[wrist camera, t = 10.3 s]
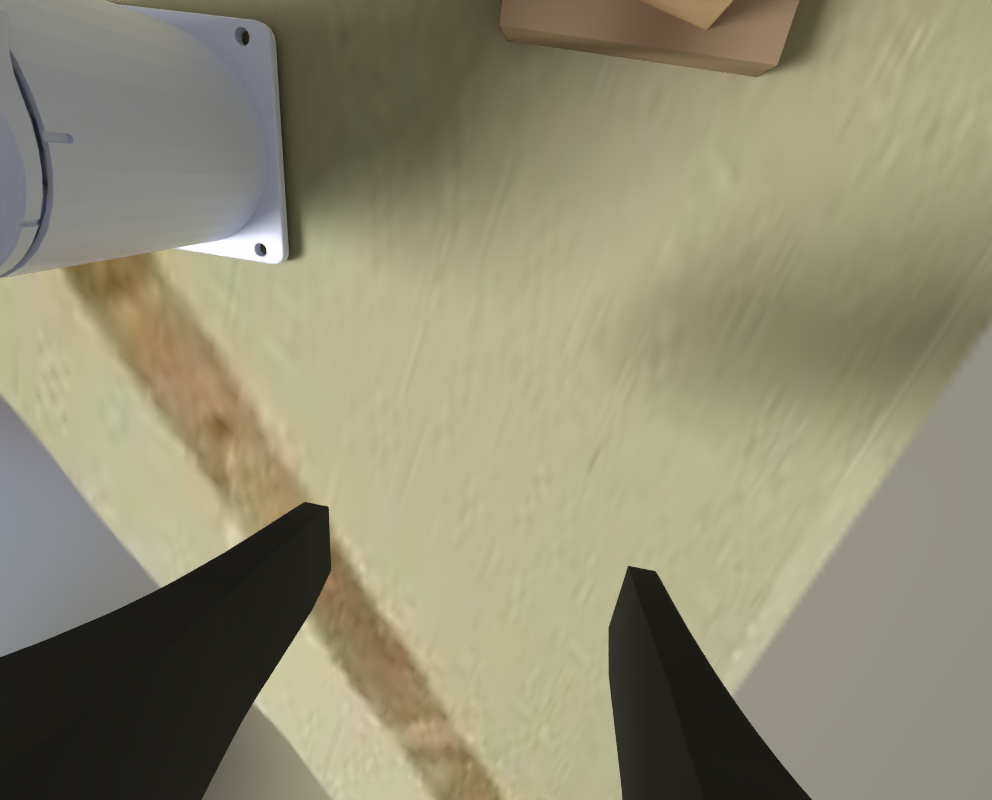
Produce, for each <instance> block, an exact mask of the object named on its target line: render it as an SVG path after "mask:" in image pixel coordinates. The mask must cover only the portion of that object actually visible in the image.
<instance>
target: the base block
mask: <svg viewBox="0 0 992 800" xmlns="http://www.w3.org/2000/svg"><path fill="white" fill-rule="evenodd" d="M798 3H799V0H733V1H732V2H731V3H730V4H729V6H728V7H727V8H726V9H725V10H724V11H723V12H722V13H721V15H720V16H719V17H718V18H717V19H716V20H715V21H714V22H713V24H712V25H711V26H710V27H709V28H708V29H707V30H705V29H702V28H700V27H698V26H696V25H693V24H691V23H689V22H687V21H684V20H682V19H680V18H678V17H675V16H673V15H671V14H669V13H666V12H664V11H662V10H660V9H657V8H655V7H653V6H651V5H648V4H646V3H644V2H642V1H639V0H502V6H501V15H500V23H499V26H500V28H501V30H502V32H503V33H504V35H505V37H506V39H507V40H508V41H515V42H522V43H529V44H535V45H542V46H549V47H556V48H563V49H569V50H576V51H583V52H590V53H597V54H603V55H610V56H617V57H624V58H631V59H637V60H644V61H651V62H658V63H665V64H672V65H678V66H685V67H692V68H699V69H706V70H712V71H719V72H726V73H733V74H740V75H746V76H753V77H757V76H759V75H761V74H763V73H764V72H766V71H768V70H770V69H772V68H774V67H775V66H777V65H778V62H779V59H780V56H781V53H782V50H783V47H784V44H785V42H786V39H787V36H788V33H789V30H790V27H791V24H792V21H793V18H794V15H795V12H796V9H797V6H798Z"/></svg>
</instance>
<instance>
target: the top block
mask: <svg viewBox="0 0 992 800" xmlns="http://www.w3.org/2000/svg"><path fill="white" fill-rule="evenodd" d="M639 1H642V2H644V3H646V4H648V5H651V6H653V7H655V8H657V9H660V10H662V11H664V12H666V13H669V14H671V15H673V16H675V17H678V18H680V19H682V20H684V21H687V22H689V23H691V24H693V25H696V26H698V27H700V28H702V29H705V30H707V29H708V28H709V27H710V26H711V25H712V24H713V22H714V21H715V20H716V19H717V18H718V17H719V16H720V15H721V13H722V12H723V11H724V10H725V9H726V8H727V7H728V6H729V4H730V3H731V2H732V1H733V0H639Z"/></svg>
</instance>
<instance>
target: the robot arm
mask: <svg viewBox="0 0 992 800" xmlns="http://www.w3.org/2000/svg"><path fill="white" fill-rule="evenodd" d="M245 30H247V31H248V33H249V42H248V44H247V45H244V44H243V41H242V34H243V32H244V31H245ZM261 244H263V245H264V246H265V247H266V250H267V253H266V255H265V254H263V253H262V252H261V249H260V245H261ZM173 248H174V249H180V250H186V251H193V252H199V253H205V254H212V255H218V256H224V257H230V258H237V259H243V260H249V261H256V262H262V263H268V264H281V263H283V262H285V261H286V260H287V259H288V256H289V246H288V230H287V214H286V198H285V182H284V165H283V149H282V133H281V117H280V101H279V85H278V69H277V53H276V41H275V36H274V34H273V32H272V30H271V29H270V28H269V27H268V26H267V25H266V24H264V23H262V22H260V21H257V20H251V19H243V18H234V17H225V16H217V15H208V14H199V13H191V12H182V11H173V10H164V9H156V8H147V7H138V6H130V5H121V4H115V3H113V2H110V1H107V0H0V278H5V277H11V276H17V275H23V274H28V273H34V272H40V271H46V270H52V269H57V268H63V267H69V266H75V265H80V264H86V263H92V262H98V261H104V260H109V259H115V258H121V257H127V256H132V255H138V254H144V253H150V252H155V251H161V250H167V249H173ZM330 571H331V555H330V531H329V507H327V506H322V505H317V504H312V503H307V502H304V503H302V504H301V505H299V506H297V507H296V508H294V509H293V510H291V511H290V512H288V513H286V514H285V515H283V516H282V517H280V518H279V519H277V520H276V521H274V522H272V523H271V524H269V525H268V526H266V527H265V528H263V529H261V530H260V531H258V532H257V533H255V534H254V535H252V536H250V537H249V538H247V539H246V540H244V541H242V542H241V543H239V544H238V545H236V546H234V547H233V548H231V549H229V550H228V551H226V552H225V553H223V554H221V555H220V556H218V557H216V558H214V559H212V560H211V561H209V562H207V563H205V564H204V565H202V566H200V567H198V568H197V569H195V570H193V571H191V572H190V573H188V574H186V575H184V576H183V577H181V578H179V579H177V580H176V581H174V582H172V583H170V584H168V585H166V586H164V587H162V588H160V589H158V590H156V591H155V592H153V593H151V594H149V595H147V596H145V597H143V598H140V599H138V600H136V601H134V602H132V603H130V604H128V605H126V606H124V607H122V608H120V609H117V610H115V611H113V612H111V613H109V614H106V615H104V616H102V617H99V618H97V619H95V620H92V621H90V622H88V623H85V624H83V625H80V626H78V627H76V628H74V629H71V630H69V631H67V632H64V633H62V634H59V635H57V636H55V637H52V638H50V639H47V640H45V641H42V642H40V643H37V644H34V645H32V646H29V647H26V648H24V649H21V650H18V651H16V652H13V653H11V654H8V655H5V656H3V657H0V800H202V797H203V796H204V794H205V792H206V790H207V788H208V786H209V784H210V782H211V780H212V778H213V776H214V774H215V772H216V770H217V768H218V766H219V764H220V762H221V760H222V758H223V757H224V755H225V753H226V751H227V749H228V747H229V745H230V743H231V741H232V739H233V737H234V736H235V734H236V732H237V730H238V728H239V726H240V724H241V722H242V721H243V719H244V717H245V715H246V714H247V712H248V710H249V709H250V707H251V705H252V704H253V702H254V700H255V699H256V697H257V695H258V694H259V692H260V691H261V689H262V688H263V686H264V685H265V683H266V681H267V680H268V678H269V677H270V675H271V674H272V672H273V671H274V669H275V667H276V666H277V664H278V663H279V661H280V660H281V658H282V656H283V655H284V653H285V652H286V650H287V649H288V647H289V646H290V644H291V642H292V641H293V639H294V638H295V636H296V635H297V633H298V631H299V630H300V628H301V627H302V625H303V623H304V622H305V620H306V619H307V617H308V615H309V614H310V612H311V611H312V609H313V607H314V605H315V603H316V601H317V599H318V597H319V595H320V593H321V591H322V589H323V586H324V584H325V582H326V580H327V578H328V576H329V574H330ZM609 680H610V690H611V699H612V708H613V717H614V726H615V734H616V743H617V751H618V760H619V769H620V777H621V786H622V799H623V800H812V799H811V798H810V797H809V796H808V795H807V794H806V792H805V791H804V790H803V789H802V788H801V787H800V786H799V784H798V783H797V782H796V781H795V780H794V778H793V777H792V776H791V775H790V774H789V772H788V771H787V770H786V769H785V768H784V766H783V765H782V764H781V763H780V761H779V760H778V759H777V758H776V756H775V755H774V754H773V752H772V751H771V750H770V749H769V747H768V746H767V745H766V743H765V742H764V741H763V740H762V738H761V737H760V736H759V735H758V733H757V732H756V730H755V729H754V727H753V726H752V725H751V723H750V722H749V721H748V719H747V718H746V717H745V715H744V714H743V712H742V711H741V710H740V708H739V707H738V705H737V704H736V702H735V701H734V699H733V698H732V697H731V695H730V694H729V692H728V691H727V689H726V688H725V686H724V685H723V683H722V682H721V680H720V679H719V677H718V676H717V674H716V673H715V671H714V670H713V668H712V667H711V665H710V663H709V662H708V660H707V659H706V657H705V655H704V654H703V652H702V651H701V649H700V647H699V646H698V644H697V643H696V641H695V639H694V638H693V636H692V634H691V633H690V631H689V629H688V628H687V626H686V624H685V622H684V621H683V619H682V617H681V615H680V614H679V612H678V610H677V608H676V607H675V605H674V603H673V601H672V600H671V598H670V596H669V594H668V592H667V590H666V589H665V587H664V585H663V583H662V581H661V579H660V578H659V576H658V574H657V573H656V572H655V571H652V570H646V569H641V568H636V567H631V566H628V568H627V572H626V575H625V578H624V581H623V584H622V587H621V591H620V594H619V597H618V600H617V603H616V606H615V610H614V613H613V616H612V619H611V622H610V625H609Z"/></svg>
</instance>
